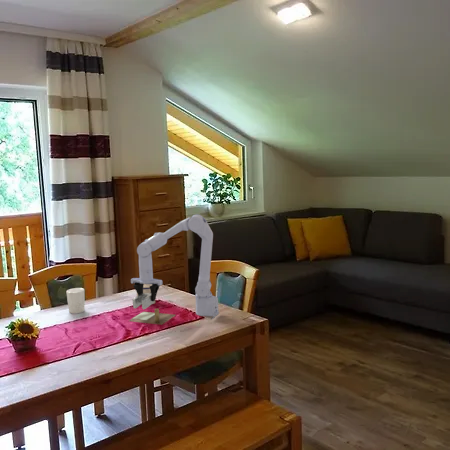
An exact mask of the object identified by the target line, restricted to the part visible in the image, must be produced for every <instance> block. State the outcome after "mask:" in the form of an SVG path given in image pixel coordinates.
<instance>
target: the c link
mask: <svg viewBox="0 0 450 450" xmlns="http://www.w3.org/2000/svg"><path fill="white" fill-rule="evenodd" d="M152 303H154V301H152V298H151V293H141V294H139V295H138V296H137V295H136V296H134V298H133V299H132V306H133V307H132V308H133V309H137V308H139V306H141V308H142V310H146V309H147V308H149V307H150V306H151V305H153V304H152Z"/></svg>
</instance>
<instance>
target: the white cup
mask: <svg viewBox="0 0 450 450" xmlns="http://www.w3.org/2000/svg"><path fill="white" fill-rule="evenodd" d="M66 299H67V305H68V312H69V313H70V314H80V313H81V314H82V313H84V311H85V309H86V307H85V304H86V303H85V288H82V287H75V288H70V289H67V290H66Z"/></svg>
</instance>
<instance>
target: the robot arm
mask: <svg viewBox="0 0 450 450" xmlns="http://www.w3.org/2000/svg"><path fill="white" fill-rule="evenodd" d="M189 230H190V231H192V232H194V233H195V234H197V235H198V236H199V237H200V238H201V247H200V259H199V272H198V273H199V274H198V280H197V283H196V286H195V288H194V290H195V292H194V293H195V314H196V315H197V316H200V317H211V318H210V319H211V320H213V319H214V318H215V317H217V316H218V315H219V314H220V311H219V298H218V296H216V295H215V296H214V295H213V293H212V291H211V288H212V282H211V265H212V264H211V263H212V254H213V253H212V252H213V240H214V232H213V231H212V229H211V227H210V225H209V223H208V221H207V219H206V218H205V217H204V216H203V215H202V214H199V213H196V214H192V216H189V217H187V218H185V219H183V220H180V221H179V222H178V223H176V224H175V225H173V226H172V227H170V228H169V229H167V230H166V231H165V232H154V234H153V236H151V237H149V238H146V239H145V240H144V241H143V242H141V243H140V244H139V245H138V246H137V247H136V253H137V255H138V273H139V277H133V278H131V279H130V283H131V284H133V285H132V287H133V288H134V290H135V291H136V295H137V294H138V295H139V294H141V293H143V286H144V284H152V285H151V286H150V290H151V298H152V301H155V302H156V299H157V295H158V291H159V288H160V286H162V285H163V280H162V279H158V278H154V272H153V257H152V253H153V252H155V251H156V250H158V249H160V248H162V247H163V246H165V245H166V244H167V242H168V240H169V239H170V238H172V237H173V236H175V235H177V234H178V233H180V232H183V231H185V232H188V231H189Z"/></svg>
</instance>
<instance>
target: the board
mask: <svg viewBox="0 0 450 450" xmlns="http://www.w3.org/2000/svg"><path fill="white" fill-rule="evenodd" d="M174 317H176V314H171V313H161V312H160V308H154V312H151V311H142V312H141V313H139V314H137V315H135V316H134V317H132V318H131V319H129V320H128V322H133V323H134V322H135V323H143V324H153V325H164V324H166V323H167V322H168V321H170V320H171V319H173V318H174Z"/></svg>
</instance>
